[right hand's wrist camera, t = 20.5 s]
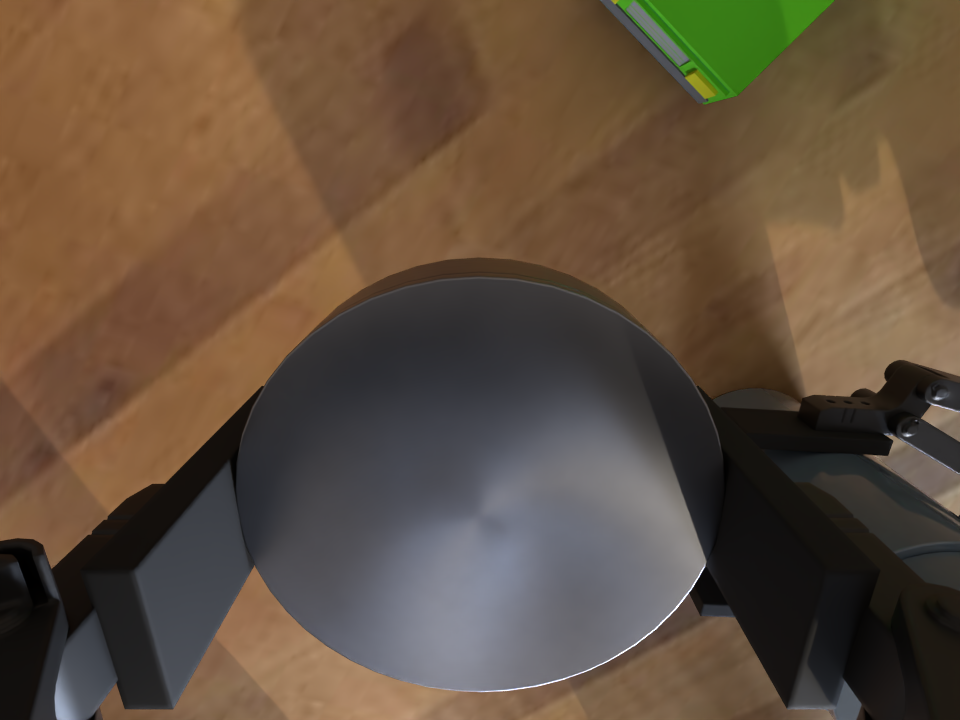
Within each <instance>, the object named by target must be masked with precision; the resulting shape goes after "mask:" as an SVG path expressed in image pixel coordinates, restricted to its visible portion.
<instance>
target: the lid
mask: <svg viewBox="0 0 960 720" xmlns="http://www.w3.org/2000/svg"><path fill="white" fill-rule="evenodd" d="M235 492H236V501H237V507H238V513H239V519H240V524H241V528H242V533H243V536H244V540H245V544H246V546H247V548H248V551H249V553H250V555H251V557H252V560H253V562H254V564H255V567H256V569H257V570H258V572H259V574H260V575H261V577H262V578H263V580H264V582H265V583H266V585H267V587H268V588H269V590H270V591H271V593H272V594H273V595H274V596H275V598H276V599H277V600H278V601H279V603H280V604H281V605H282V606H283V608H284V609H285V610H286V611H287V612H288V613H289V614H290V615H291V616H292V617H293V618H294V619H295V620H296V621H297V622H298V623H299V624H300V625H301V626H302V627H303V628H304V629H305V630H307V631H308V632H309V633H310V634H312V635H313V636H314V637H316V638H317V639H318V640H320V641H321V642H322V643H324V644H325V645H326V646H328V647H329V648H331V649H333V650H334V651H336V652H338V653H339V654H341V655H343V656H344V657H346V658H347V659H349V660H351V661H353V662H355V663H357V664H360V665H362V666H364V667H366V668H368V669H370V670H372V671H375V672H377V673H380V674H383V675H386V676H389V677H392V678H395V679H398V680H401V681H405V682H409V683H413V684H417V685H421V686H426V687H432V688H439V689H446V690H453V691H474V692H487V691H507V690H515V689H522V688H529V687H535V686H539V685H544V684H548V683H552V682H556V681H560V680H563V679H566V678H569V677H572V676H575V675H577V674H580V673H583V672H586V671H588V670H590V669H593V668H595V667H597V666H599V665H601V664H603V663H605V662H607V661H609V660H612V659H613V658H615V657H617V656H618V655H620V654H621V653H623V652H625V651H626V650H628V649H630V648H631V647H633V646H635V645H636V644H637V643H638V642H640V641H641V640H642V639H644V638H645V637H646V636H648V635H649V634H650V633H651V632H653V631H654V630H655V629H656V628H657V627H658V626H659V625H661V624H662V623H663V622H664V621H665V620H666V619H667V618H668V617H669V616H670V615H671V614H672V613H673V612H674V611H675V610H676V608H677V607H678V606H679V605H680V603H681V602H682V601H683V600H684V598H685V597H686V596H687V594H688V593H689V592H690V591H691V589H692V588H693V586H694V584H695V583H696V581H697V579H698V578H699V576H700V574H701V573H702V571H703V569H704V568H705V566H706V564H707V561H708V559H709V556H710V554H711V552H712V549H713V547H714V545H715V542H716V539H717V535H718V531H719V526H720V521H721V516H722V510H723V504H724V496H725V475H724V459H723V454H722V450H721V445H720V440H719V436H718V432H717V429H716V426H715V424H714V421H713V419H712V416H711V414H710V411H709V408H708V406H707V404H706V402H705V400H704V399H703V397H702V395H701V393H700V392H699V390H698V388H697V387H696V385H695V383H694V381H693V380H692V378H691V377H690V376H689V374H688V373H687V372H686V371H685V369H684V368H683V367H682V366H681V365H680V363H679V362H678V361H677V360H676V358H675V357H674V356H673V355H672V353H670V352H669V351H668V350H667V349H666V348H665V347H664V346H663V345H662V344H661V343H660V342H659V341H658V340H657V339H656V338H655V337H654V336H653V335H652V334H651V333H650V332H649V331H648V330H647V329H646V328H645V327H644V326H643V325H642V324H641V323H640V322H639V321H638V320H637V319H635V318H634V317H633V316H632V315H631V314H630V313H629V312H628V311H627V310H626V309H625V308H624V307H622V306H621V305H620V304H618V303H617V302H616V301H614V300H613V299H611V298H610V297H608V296H607V295H605V294H604V293H602V292H601V291H600V290H598V289H596V288H594V287H592V286H590V285H588V284H586V283H584V282H582V281H580V280H578V279H576V278H574V277H572V276H570V275H568V274H565V273H562V272H559V271H556V270H553V269H550V268H547V267H544V266H541V265H536V264H531V263H526V262H521V261H515V260H510V259H494V258H467V259H452V260H445V261H440V262H435V263H430V264H425V265H420V266H416V267H413V268H410V269H408V270H405V271H402V272H399V273H396V274H393V275H390V276H388V277H386V278H384V279H382V280H380V281H378V282H376V283H374V284H372V285H370V286H368V287H366V288H364V289H362V290H361V291H359V292H358V293H356V294H355V295H354V296H352V297H351V298H349V299H348V300H346V301H345V302H344V303H342V304H341V305H339V306H338V307H337V308H336V309H335V310H334V311H333V312H331V313H330V314H329V315H328V316H327V317H326V318H325V319H324V320H323V321H322V322H321V323H320V324H319V325H318V326H317V327H316V328H315V329H314V330H313V331H311V332H310V333H309V334H308V335H307V336H306V337H305V338H304V339H303V340H302V341H301V342H300V343H299V344H298V345H297V346H296V347H295V348H294V349H293V350H292V351H291V352H290V353H289V354H288V355H287V356H286V357H285V359H284V360H283V361H282V363H281V364H280V365H279V366H278V368H277V369H276V370H275V371H274V373H273V374H272V375H271V376H270V378H269V379H268V380H267V382H266V384H265V385H264V387H263V389H262V391H261V393H260V394H259V396H258V398H257V400H256V401H255V403H254V405H253V407H252V409H251V412H250V415H249V417H248V420H247V423H246V425H245V428H244V431H243V433H242V438H241V442H240V447H239V452H238V457H237V463H236V487H235Z"/></svg>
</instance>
